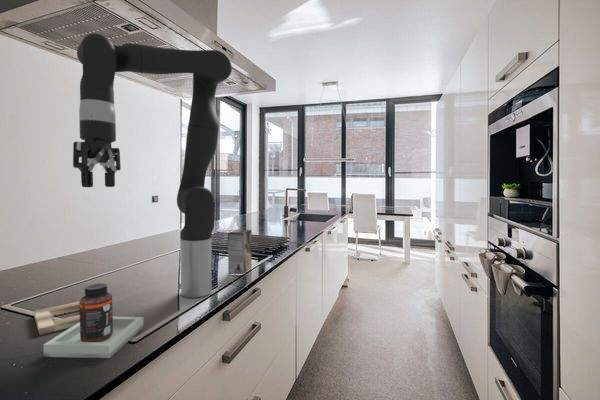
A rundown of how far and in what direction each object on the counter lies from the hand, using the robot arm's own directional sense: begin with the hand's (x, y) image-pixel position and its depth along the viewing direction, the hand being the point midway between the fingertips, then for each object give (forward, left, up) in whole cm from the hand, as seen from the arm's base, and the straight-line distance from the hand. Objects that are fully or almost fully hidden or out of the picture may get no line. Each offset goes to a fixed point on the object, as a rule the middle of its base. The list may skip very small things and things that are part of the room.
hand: (99, 187), depth 78 cm
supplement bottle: (+12, +7, -32) cm, 35 cm away
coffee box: (-41, +27, -33) cm, 59 cm away
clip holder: (+1, -8, -33) cm, 34 cm away
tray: (+12, +7, -33) cm, 36 cm away
